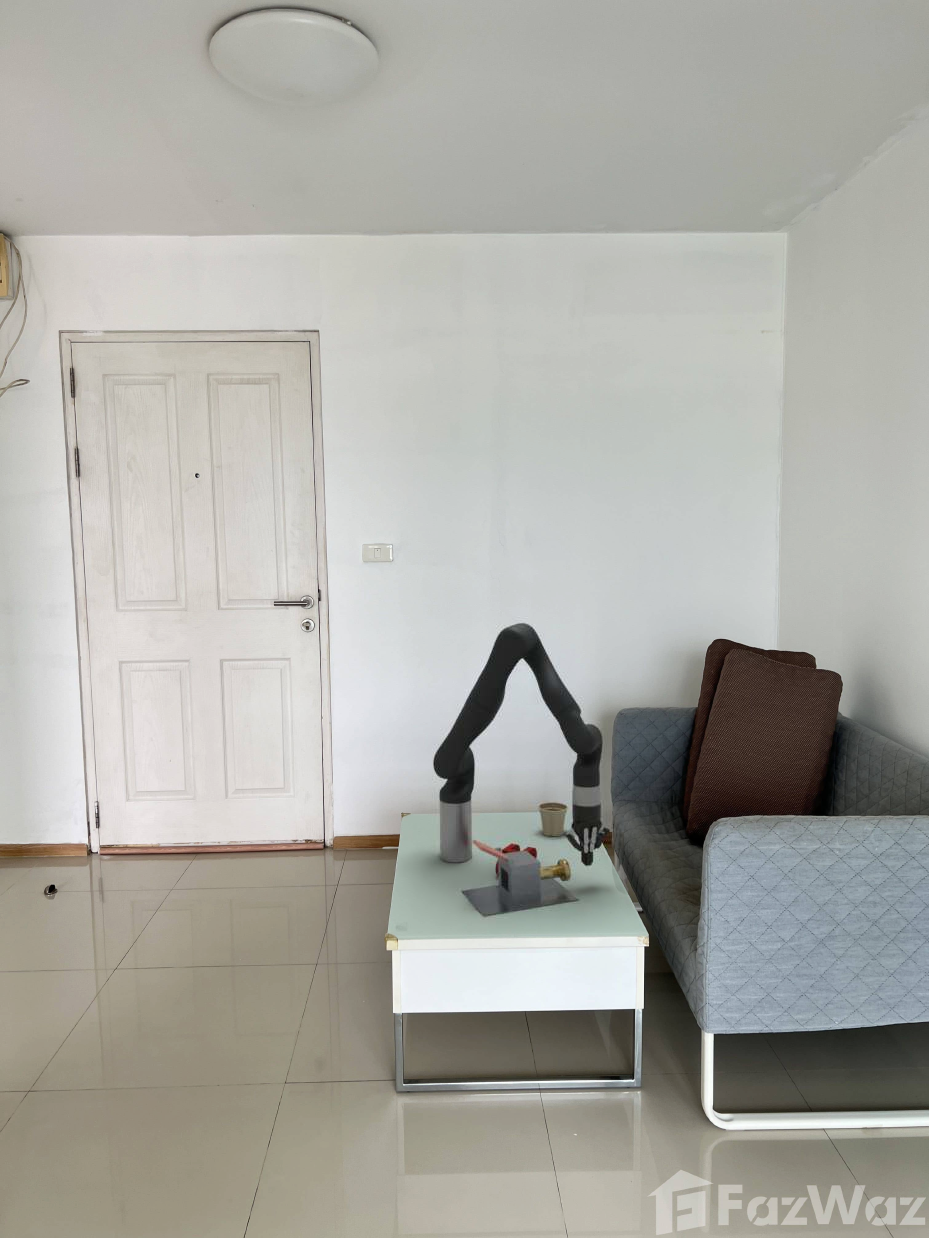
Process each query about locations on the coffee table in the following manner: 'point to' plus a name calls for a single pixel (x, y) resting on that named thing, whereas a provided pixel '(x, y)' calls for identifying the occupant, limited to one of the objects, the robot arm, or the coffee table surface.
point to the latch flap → (491, 851)
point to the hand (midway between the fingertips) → (587, 864)
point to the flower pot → (552, 817)
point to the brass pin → (557, 871)
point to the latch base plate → (518, 887)
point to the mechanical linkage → (516, 848)
